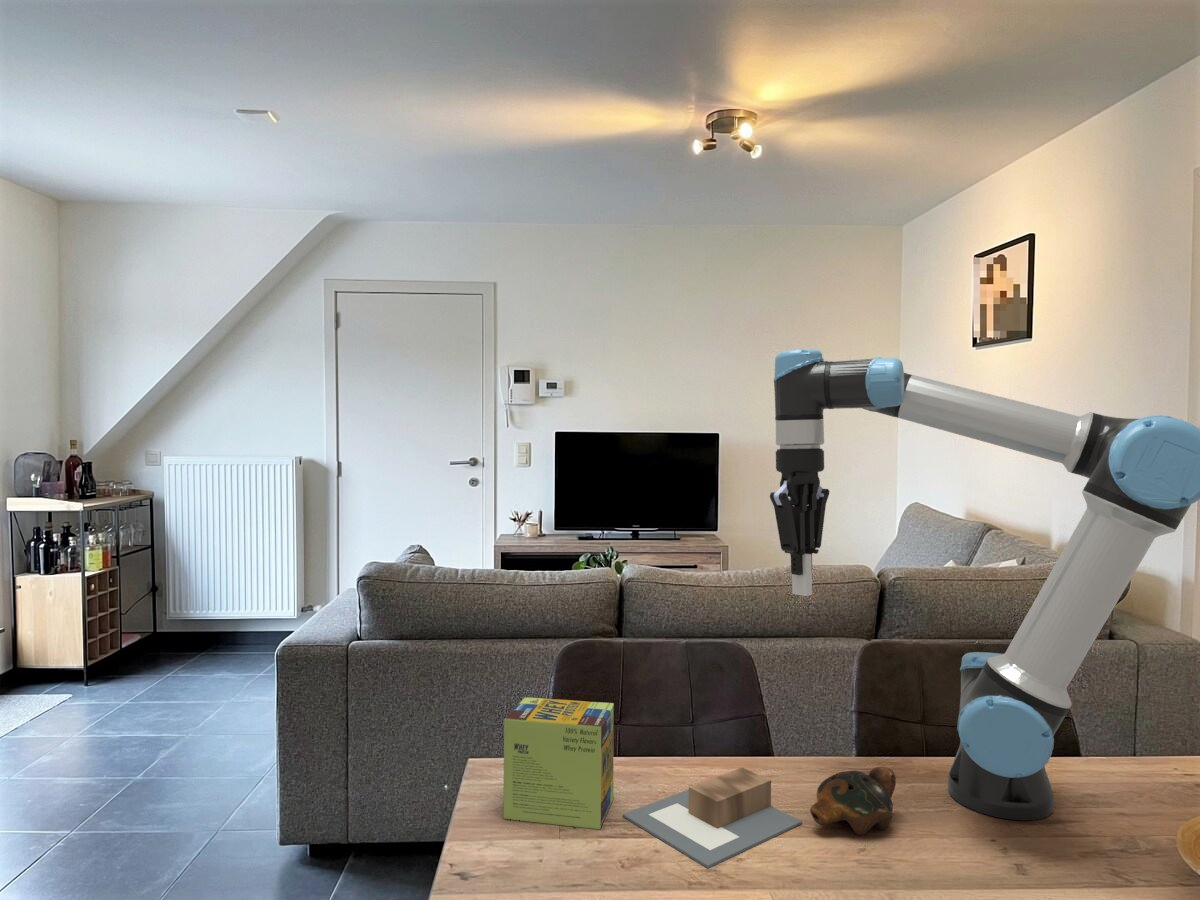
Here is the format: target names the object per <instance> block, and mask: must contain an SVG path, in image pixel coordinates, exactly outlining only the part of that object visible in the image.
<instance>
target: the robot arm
mask: <svg viewBox="0 0 1200 900" xmlns="http://www.w3.org/2000/svg"><path fill="white" fill-rule="evenodd" d="M903 364H904V363H903V361H901V359H899V358H898V357H897V358H896V357H874V358H865V359H863V358H862V359H852V360H851V359H849V360H839V361H831V360H830V361H828V360H824V358H823V353H822V351H821V350H819V349H815V348H806V349H802V348H800V349H789V350H784V351H781V352H779V353H778V354H777V355H776V356H775V360H774V378H773V385H774V386H773V387H774V411H775V413H774V414H775V417H774V419H775V420H774V421H775V445H776V446H779V448H777V449H776V451H775V470H776V472H778V473H781V477H780V481H779V487H780V488H779V489H778V490H777V491H776V492H774V491H772V492H770V495H769V498H770V501H771V503H772V505H773V509H774V514H775V520H776V525H777V531H778V538H779V543H780V549H781V551H783V552H784V553H785V554H789V556H790V573H791V590H792V592H791V593H792V595H797V596H803V597H808V596H812V595H813V581H812V579H813V578H812V577H813V575H812V573H813V554H817V555H818V553H819V552H820V551H819V549H820V548H821V546H822V540H823V531H824V530H823V529H824V523H825V516H826V515H825V513H826V507H827V502H828V499H829V496H830V490H829V488H824V487H822V486H821V479H820V477H819V473H820V472H823V471H824V470H825V450H824V449H823V448H821V446H823V445H824V444H825V429H824V426H825V425H824V410H834V409H863V410H867V411H868V412H872V413H873V412H874V413H877V414H878V413H879V414H882V415H886V416H888V417H893V418H898V419H901V420H905V421H908V422H912V423H916V424H919V425H923V426H926V427H930V428H934V429H938V430H941V431H943V432H948V433H952V434H956V435H959V436H962V437H966V438H968V439H969V438H970V439H972V440H977V441H981V442H984V443H987V444H991V445H994V446H998V447H1002V448H1004V449H1005V448H1006V449H1009V450H1013V451H1016V452H1020V453H1023V454H1028V455H1031V456H1034V457H1037V458H1040V459H1041V458H1042V459H1046V460H1048V461H1053V462H1055V463H1060V464H1062V465H1063V466H1064V468H1065V469H1066V471H1067V473H1070V474H1074V475H1078V476H1081V477H1085V478H1087V479H1088V480H1087V481H1086V484H1085V486H1084V487H1083V489H1082V491H1081V494H1082V497H1083V498H1084V501H1085V503H1086V509H1085V511H1084V512H1083V515H1082V516H1081V518H1080V520H1079V522H1078V523H1077V525H1076V527H1075V528H1074V530H1073V532H1072V534H1071V536H1070V537H1069V539H1068V541H1067V543H1066V545H1064V548H1063V550H1062V552H1061V553H1060V556H1059V557H1058V558H1057V560H1056V562H1055V564H1054V566H1053V567H1052V569H1051V570H1050V573H1049V575H1048V576H1047V578H1046V580H1045V581H1044V583H1043V585H1042V587H1041V589H1040V590H1039V592H1038V594H1037V596H1036V597H1035V599H1034V602H1033V603H1032V605H1031V607H1029V610H1028V612H1027V614H1026V615H1025V617H1024V619H1023V621H1022V622H1021V624H1020V626H1019V628H1018V630H1017V632H1016V633H1015V635H1014V636H1013V639H1012V640H1011V642H1010V644H1009V645H1008V647H1007V649H1006V651H1005V652H1004V653H999V652H985V651H984V652H983V651H974V652H971V651H970V652H967V653H964V655H963V656H962V657H961V665H960V668H959V671H960V700H959V701H960V702H959V712H958V713H959V714H958V716H957V723H956V724H957V727H956V728H957V732H958V736H959V739H960V740H959V741H960V743H959V747H958V749H957V750H956V755H955V757H954V760H953V762H952V764H951V767H950V769H949V772H948V775H947V776H948V777H947V783H948V784H947V792H948V793H949V795H950V796H951V798H952V799H954V800H955V801H956V802H958V803H959V804H960V805H962V806H965V807H966V808H969V809H971V810H972V811H976V812H978V813H979V814H980V813H981V814H983V815H987V816H992V817H996V818H999V819H1000V818H1001V819H1005V820H1015V821H1034V820H1041V819H1044V818H1047V817H1049V816H1050V815H1051V814H1052V813H1053V812H1054V807H1055V805H1054V803H1055V801H1054V800H1055V799H1054V798H1055V797H1054V791H1053V789H1052V788H1053V787H1052V786H1051V782H1050V780H1049V777H1048V773H1047V770H1046V768H1045V766H1047V763H1048V762H1049V760H1050V758H1051V756H1052V755H1053V750H1054V743H1055V739H1054V736H1055V734H1056V732H1057V731H1058V729H1059V728H1060V726H1061V724H1062V723H1063V720H1064V719H1065V717H1066V716H1067V714H1068V712H1069V710H1070V709H1071V706H1072V705H1073V704H1072V701H1071V698H1070V695H1069V693H1068V687H1069V684H1070V683H1071V681H1072V679H1073V678H1074V676H1075V675H1076V673H1077V671H1078V669H1079V668H1080V666H1081V664H1082V663H1083V661H1084V660H1085V657H1086V655H1087V654H1088V653H1089V651H1090V650H1091V647H1092V646H1093V644H1094V642H1095V641H1096V638H1097V637H1098V636H1099V634H1100V632H1101V631H1102V628H1103V626H1104V625H1105V624H1106V622H1107V620H1108V618H1109V617H1110V615H1111V613H1112V612H1113V610H1114V608H1115V607H1116V605H1117V603H1118V602H1119V600H1120V598H1121V597H1122V595H1123V593H1124V592H1125V590H1126V588H1127V587H1128V585H1129V583H1130V581H1131V579H1132V578H1133V576H1134V574H1135V573H1136V571H1137V570H1138V567H1139V566H1140V565H1141V563H1142V560H1144V558H1145V556H1146V554H1147V552H1148V551H1149V549H1150V548H1151V546H1152V545H1153V542H1154V541H1155V539H1157V538H1158V537H1160V536H1164V535H1168V534H1173V533H1175V532H1176V530H1177V529H1178V528H1179V526H1180V524H1181V522H1182V521H1183V519H1184V517H1185V515H1186V514H1187V512H1188V510H1189V509H1190V507H1191V505H1193V504H1195V503H1196V502H1197V501H1200V428H1199V427H1197V426H1196V425H1195V424H1193V423H1191V422H1188V421H1186V420H1184V419H1182V418H1181V419H1180V418H1176V417H1172V416H1170V415H1150V416H1144V417H1141V418H1127V417H1126V418H1123V417H1116V416H1109V415H1103V414H1100V413H1095V412H1087V413H1084V414H1083V415H1075V414H1071V413H1067V412H1064V411H1063V412H1062V411H1058V410H1057V409H1056V410H1054V409H1051V408H1047V407H1044V406H1039V405H1035V404H1031V403H1027V402H1024V401H1020V400H1015V399H1011V398H1006V397H1002V396H999V395H995V394H990V393H987V392H983V391H979V390H975V389H971V388H966V387H962V386H959V385H955V384H950V383H947V382H944V381H938V380H935V379H931V378H927V377H924V376H919V375H915V374H911V373H907V372H905V371H904V365H903Z"/></svg>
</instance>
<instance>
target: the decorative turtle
mask: <svg viewBox="0 0 1200 900" xmlns="http://www.w3.org/2000/svg"><path fill="white" fill-rule="evenodd" d="M896 778H897V777H896V775H895V772H894V770H893V769H891V768H890V767H886V766H876V767H874V768H872V769H871V770H870V771H869V774H866V773H863V772H861V771H857V770H848V771H847V770H846V771H841V772H838V773H835V774H833V775H830V776H829V777H827V778H826V779H824V780H823V781H822V782H821V783H820V784H819V786H818V787H817V790H816V800H817V801H816V802H815V803H814V804H813V805H811V806H810V809H809V812H810V814H811V817H812V819H813V820H814V822H815V823H816V824H818V825H820V826H827V825H830V824H834V823H838V822H840V821H846V822H847V823H848V824H849V825H850V827H851V829H852V830H853V832H854V833H855V834H856V835H857V836H864V835H865V834H866V833H868V832H869V831H870V830H871V828H873V826H875V828H877V829H878V830H880V831H885V830H887V829H888V828H889V825H890V822H891V819H892V815H893V809H894V807H893V806H894V805H893V801H892V796H893V795H894V791H895V788H896V785H897V784H896V783H897V781H896V780H897V779H896Z"/></svg>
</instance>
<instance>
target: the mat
mask: <svg viewBox="0 0 1200 900" xmlns="http://www.w3.org/2000/svg"><path fill="white" fill-rule="evenodd" d="M688 810H689V788H688V789H686V790H684V791H681V792H678V793H675V794H673V795H670V796H667V797H665V798H662V799H660V800H657V801H654V802H652V803H649V804H647V805H643V806H641V807H638V808H635V809H633V810H631V811H628V812H625V813H623V814H622V818H624V819H625V820H627V821H628V822H630V823H632V824H634V825H636V826H637V827H638V828H640V829H642V830H644V831H646V833H649V834H651V836H653V837H655V838H657V839H658V840H660V841H662V842H663V843H665V844H667V845H668V846H669V847H672V848H673V849H675V850H676V851H678V852H679V853H681V854H683V855H685V856H686V857H688V858H690V859H692V860H693V861H694V862H696V863H697V864H699V865H701V866H703V867H704V868H706V869H710V868H712V867H714V866H716V865H718V864H720V863H723V862H725V861H727V860H729V859H731V858H733V857H735V856H737V855H739V854H741V853H744V852H746V851H747V850H750V849H752V848H754V847H757V846H758V845H760V844H762V843H763V844H764V843H765V842H767V841H769V840H771V839H773V838H775V836H776V837H778V836H779V835H782V834H784V833H786V832H788V831H790V830H792V829H794V827H795V828H797V827H799V826H801V825H803V821H802V820H800V819H798V818H797V817H794V816H792V815H790V814H788V813H786V812H784V811H781V810H779V809H777V808H776V807H773V806H772V805H771V806H769V807H767V808H765V809H762V810H760V811H758V812H755V813H753V814H751V815H748V816H746V817H744V818H741V819H739V820H737V821H734V822H732V823H730V824H727V825H725V826H722V827H720V828H718V829H717V828H715V827H713V826H711V825H709V824H707V823H706V822H704V821H702V820H700V819H698V818H696V817H695V816H693V815H691V814H689V813H688ZM800 824H801V825H800ZM798 825H799V826H798ZM796 826H797V827H796Z"/></svg>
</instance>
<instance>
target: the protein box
mask: <svg viewBox="0 0 1200 900" xmlns="http://www.w3.org/2000/svg"><path fill="white" fill-rule="evenodd" d="M614 705H615V703H613V702H601V701H600V702H599V701H598V702H597V701H583V700H572V699H555V698H554V699H553V698H539V697H523V698H522V700H521V701H519V703H518V704H517V705H516V706H515V708H513V709H512V711H510V713H509V714H508V715H506V717H505V718H504V719H503V804H502V805H503V809H502V815H503V816H502V817H503V820H510V819H511V820H512V821H519V820H520V821H521V822H527V823H528V822H529V823H539V824H547V825H554V826H555V825H557V826H565V827H566V826H567V827H573V828H584V829H593V830H601V829H602V827H603V824H604V822H605V819H606V817H607V815H608V812H609V811H610V807H611V806H612V803H613V801H614V793H615V792H614V787H615V786H614V781H615V780H614V713H615V712H614V711H615V710H614V709H615V708H614V707H615V706H614ZM520 821H519V822H520Z"/></svg>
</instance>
